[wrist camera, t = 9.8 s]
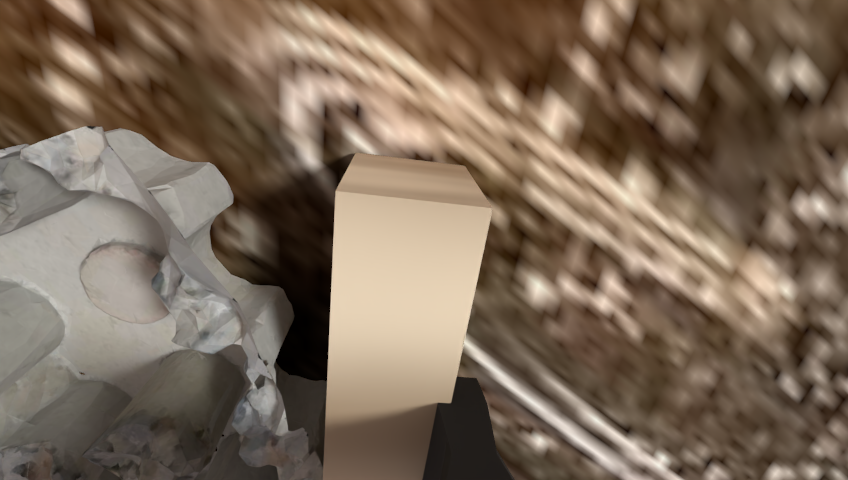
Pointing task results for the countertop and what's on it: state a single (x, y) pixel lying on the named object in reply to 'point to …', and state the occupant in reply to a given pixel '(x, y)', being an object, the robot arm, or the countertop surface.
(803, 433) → the countertop surface
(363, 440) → the block
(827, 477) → the countertop surface
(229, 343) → the egg carton
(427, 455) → the robot arm
